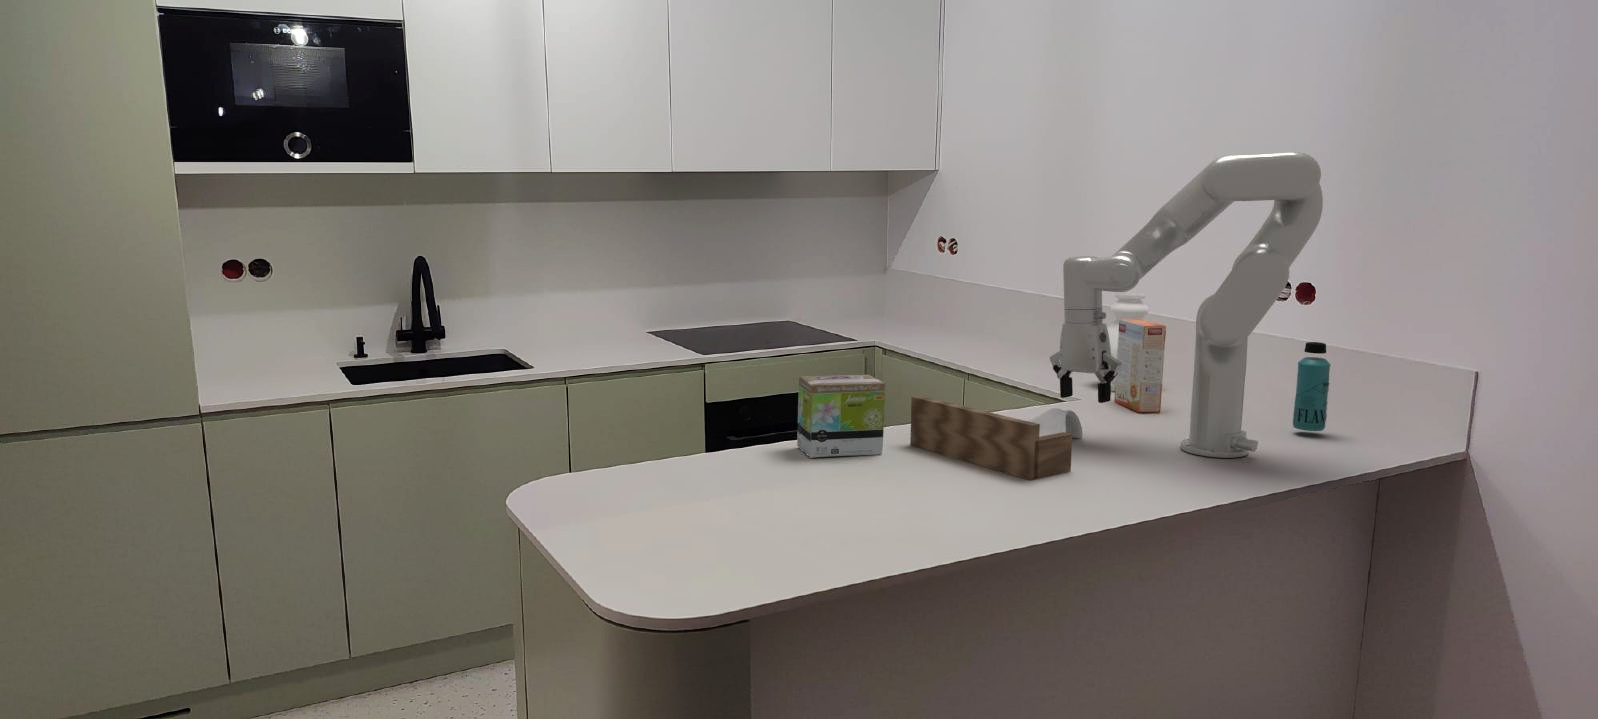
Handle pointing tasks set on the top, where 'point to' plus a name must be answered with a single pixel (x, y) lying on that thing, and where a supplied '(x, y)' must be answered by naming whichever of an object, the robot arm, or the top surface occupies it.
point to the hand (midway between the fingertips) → (1085, 399)
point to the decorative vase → (1124, 309)
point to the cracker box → (1140, 365)
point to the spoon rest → (1058, 423)
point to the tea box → (840, 415)
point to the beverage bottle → (1312, 390)
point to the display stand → (988, 439)
